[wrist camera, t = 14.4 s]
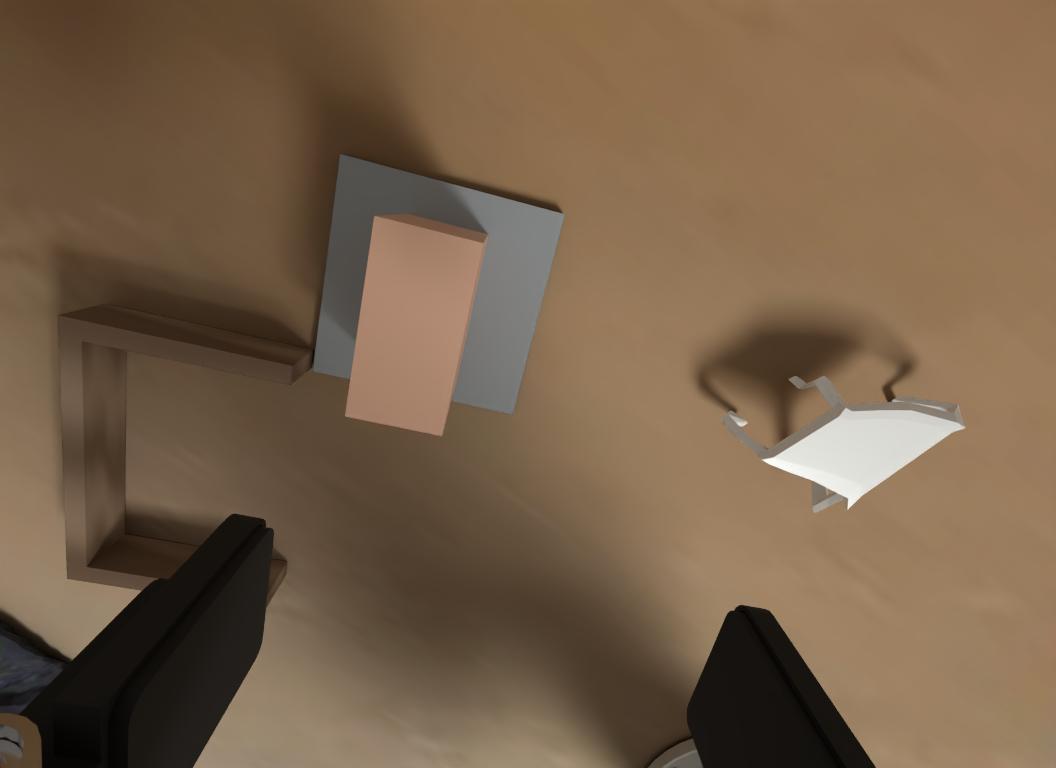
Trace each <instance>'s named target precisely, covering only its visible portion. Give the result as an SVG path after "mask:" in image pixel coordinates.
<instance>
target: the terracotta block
mask: <svg viewBox="0 0 1056 768" xmlns="http://www.w3.org/2000/svg"><path fill="white" fill-rule="evenodd" d="M487 238H488V234H485V233H481V232H477V231H473V230H469V229H465V228H461V227H457V226H454V225H450V224H446V223H442V222H438V221H434V220H430V219H426V218H422V217H418V216H414V215H410V214H398V215H379V216H374V221H373V228H372V235H371V242H370V249H369V255H368V262H367V269H366V276H365V283H364V289H363V296H362V303H361V310H360V317H359V324H358V330H357V337H356V344H355V351H354V358H353V364H352V371H351V378H350V385H349V392H348V398H347V405H346V412H345V417H350V418H355V419H360V420H365V421H370V422H375V423H380V424H385V425H390V426H394V427H399V428H404V429H409V430H414V431H419V432H424V433H429V434H434V435H439V436H442V434H443V431H444V427H445V423H446V419H447V416H448V412H449V408H450V404H451V401H452V397H453V393H454V389H455V386H456V382H457V377H458V372H459V368H460V363H461V358H462V354H463V349H464V345H465V340H466V335H467V331H468V326H469V321H470V317H471V312H472V307H473V303H474V298H475V293H476V289H477V284H478V280H479V275H480V270H481V266H482V261H483V256H484V252H485V247H486V242H487Z"/></svg>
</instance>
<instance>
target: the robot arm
mask: <svg viewBox="0 0 1056 768" xmlns="http://www.w3.org/2000/svg"><path fill="white" fill-rule="evenodd" d="M273 538H274V531H273V529H272V528H266V522H265V520H264V519H261V518H256V517H250V516H245V515H239V514H231V515H230V516H229V517H228V518H227V519H226V520H225V521H224V522H223V523H222V524H221V525H220V526H219V527H218V528H217V529H216V530H215V531H214V532H213V533H212V534H211V535H210V537H209V538H208V539H207V540H206V541H205V542H204V543H203V544H202V545H201V546H200V547H199V548H198V549H197V550H196V551H195V552H194V553H193V554H192V555H191V556H190V557H189V558H188V560H187V561H186V562H185V563H184V564H183V565H182V566H181V567H180V568H179V569H178V570H177V571H176V572H175V573H174V574H173V575H172V576H171V577H170V578H169V579H163V578H159V579H156V580H154V581H153V582H151V583H150V584H149V585H148V586H146V587H145V588H144V589H143V590H142V591H141V592H140V593H139V594H138V595H137V596H136V597H135V598H134V599H133V600H132V601H131V602H130V603H129V604H128V605H127V606H126V607H125V608H124V609H123V610H122V611H121V612H120V613H119V614H118V615H117V616H116V617H115V618H114V619H113V620H112V621H111V622H110V623H109V624H108V625H107V626H106V627H105V628H104V629H103V630H102V631H101V632H100V633H99V634H98V635H97V636H96V637H95V638H94V639H93V640H92V641H91V642H90V643H89V644H88V645H87V646H86V647H85V648H84V649H83V650H82V651H81V652H80V653H79V654H78V655H77V656H76V657H75V658H74V659H73V660H72V661H71V662H70V663H69V664H68V665H67V666H66V667H65V668H64V669H63V670H62V671H61V672H60V673H59V674H58V675H57V676H56V677H55V678H54V679H53V680H52V681H51V682H50V683H49V684H48V685H47V686H46V687H45V688H44V689H43V690H42V691H41V692H40V693H39V694H38V695H37V696H36V697H35V698H34V699H33V700H32V701H31V702H30V703H29V704H28V705H27V706H26V707H25V708H24V709H23V710H22V711H21V712H20V713H19V714H18V715H15V714H11V713H0V768H193V766H194V765H195V763H196V761H197V759H198V758H199V756H200V754H201V752H202V751H203V749H204V747H205V746H206V744H207V742H208V740H209V739H210V737H211V735H212V734H213V732H214V730H215V728H216V727H217V725H218V723H219V722H220V720H221V718H222V716H223V715H224V713H225V711H226V709H227V708H228V706H229V704H230V703H231V701H232V699H233V697H234V696H235V694H236V692H237V691H238V689H239V687H240V685H241V684H242V682H243V680H244V678H245V677H246V675H247V673H248V672H249V670H250V668H251V666H252V665H253V663H254V661H255V659H256V657H257V655H258V653H259V650H260V647H261V644H262V639H263V631H264V621H265V612H266V603H267V594H268V584H269V575H270V566H271V557H272V547H273ZM687 722H688V726H689V729H690V732H691V735H692V739H689V740H687V741H684V742H682V743H679V744H677V745H676V746H674V747H672V748H670V749H669V750H667V751H665V752H664V753H663V754H662V755H660V756H659V757H658V758H656V759H655V760H654V761H653V762H652V764H651V765H650V766H649V767H648V768H876V767H875V765H874V764H873V762H872V761H871V760H870V758H869V757H868V755H867V754H866V752H865V751H864V749H863V748H862V746H861V745H860V743H859V742H858V740H857V739H856V737H855V736H854V734H853V733H852V731H851V730H850V728H849V727H848V725H847V724H846V722H845V721H844V719H843V718H842V717H841V715H840V714H839V712H838V711H837V709H836V708H835V706H834V705H833V703H832V702H831V700H830V699H829V697H828V696H827V694H826V693H825V691H824V690H823V688H822V687H821V685H820V684H819V682H818V681H817V679H816V678H815V677H814V675H813V674H812V672H811V671H810V669H809V668H808V666H807V665H806V663H805V662H804V660H803V659H802V657H801V656H800V654H799V653H798V651H797V650H796V648H795V647H794V645H793V644H792V642H791V641H790V639H789V638H788V637H787V635H786V634H785V632H784V631H783V629H782V628H781V626H780V625H779V623H778V622H777V620H776V619H775V617H774V616H773V614H772V613H771V612H770V611H768V610H766V609H761V608H756V607H750V606H745V605H739V606H738V607H736V608H735V610H734V611H730V612H729V613H728V614H727V616H726V618H725V620H724V622H723V625H722V627H721V629H720V632H719V634H718V636H717V639H716V641H715V643H714V646H713V648H712V650H711V653H710V655H709V657H708V660H707V662H706V664H705V667H704V669H703V672H702V674H701V676H700V679H699V681H698V683H697V686H696V688H695V690H694V693H693V695H692V697H691V700H690V702H689V704H688V708H687Z"/></svg>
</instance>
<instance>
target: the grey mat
mask: <svg viewBox="0 0 1056 768" xmlns="http://www.w3.org/2000/svg"><path fill="white" fill-rule="evenodd" d="M398 214H410V215H414V216H418V217H422V218H426V219H430V220H434V221H438V222H442V223H446V224H450V225H454V226H457V227H461V228H465V229H469V230H473V231H477V232H481V233H485V234H488V238H487V242H486V247H485V252H484V256H483V261H482V266H481V270H480V275H479V280H478V284H477V289H476V293H475V298H474V303H473V307H472V312H471V317H470V321H469V326H468V331H467V335H466V340H465V345H464V349H463V354H462V358H461V363H460V368H459V372H458V377H457V382H456V386H455V389H454V393H453V397H452V402H457V403H462V404H466V405H471V406H476V407H480V408H485V409H489V410H494V411H499V412H503V413H508V414H513V411H514V407H515V403H516V400H517V396H518V392H519V388H520V384H521V380H522V377H523V373H524V369H525V365H526V361H527V357H528V354H529V350H530V346H531V342H532V338H533V334H534V331H535V327H536V323H537V319H538V315H539V311H540V308H541V304H542V300H543V296H544V292H545V288H546V285H547V281H548V277H549V273H550V269H551V265H552V262H553V258H554V254H555V250H556V246H557V242H558V239H559V235H560V231H561V227H562V223H563V219H564V216H565V214H562V213H558V212H555V211H551V210H547V209H543V208H540V207H536V206H532V205H528V204H525V203H521V202H517V201H514V200H510V199H506V198H502V197H499V196H495V195H491V194H488V193H484V192H480V191H476V190H473V189H469V188H465V187H461V186H458V185H454V184H450V183H447V182H443V181H439V180H435V179H432V178H428V177H424V176H420V175H417V174H413V173H409V172H406V171H402V170H398V169H394V168H391V167H387V166H383V165H380V164H376V163H372V162H368V161H365V160H361V159H357V158H353V157H350V156H346V155H342V154H340V159H339V167H338V175H337V183H336V190H335V198H334V206H333V214H332V222H331V230H330V238H329V246H328V254H327V262H326V270H325V278H324V286H323V294H322V302H321V310H320V317H319V325H318V333H317V341H316V349H315V357H314V365H313V372H318V373H322V374H327V375H332V376H336V377H341V378H346V379H350V378H351V371H352V364H353V358H354V351H355V344H356V337H357V330H358V324H359V317H360V310H361V303H362V296H363V289H364V283H365V276H366V269H367V262H368V255H369V249H370V242H371V235H372V228H373V221H374V216H379V215H398Z"/></svg>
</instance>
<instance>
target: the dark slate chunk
mask: <svg viewBox="0 0 1056 768" xmlns="http://www.w3.org/2000/svg"><path fill="white" fill-rule="evenodd" d="M12 629H13V628H11V627H10V626H9V625H7V624H3V623H0V713H11V714H15V715H18V714H19V713H20V712H21V711H22V710H23V709H24V708H25V707H26V706H27V705H28V704H29V703H30V702H31V701H32V700H33V699H34V698H35V697H36V696H37V695H38V694H39V693H40V692H41V691H42V690H43V689H44V688H45V687H46V686H47V685H48V684H49V683H50V682H51V681H52V680H53V679H54V678H55V677H56V676H57V675H58V674H59V673H60V672H61V671H62V670H63V669H64V668H65V667H66V666H67V665H68V664H67V663H64V662H62V661H59V660H55V659H51V658H49V657H47V656H46V655H45V654H43V653H42V652H40V651H39V650H38V649H37V648H36V647H35V646H34V645H33V644H32V643H31V642H29V641H28V640H27V639H25V638H24V637H22V636H19V635H15V634H13V633H11V631H12Z"/></svg>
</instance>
